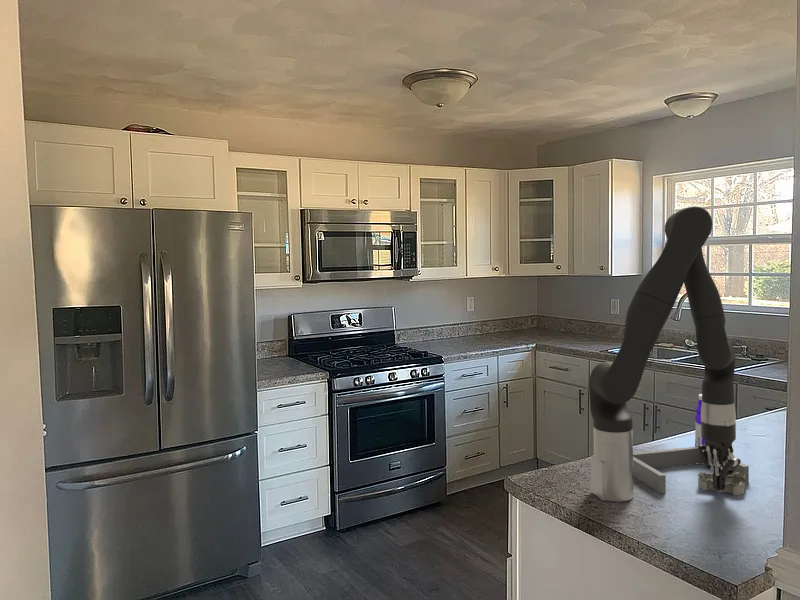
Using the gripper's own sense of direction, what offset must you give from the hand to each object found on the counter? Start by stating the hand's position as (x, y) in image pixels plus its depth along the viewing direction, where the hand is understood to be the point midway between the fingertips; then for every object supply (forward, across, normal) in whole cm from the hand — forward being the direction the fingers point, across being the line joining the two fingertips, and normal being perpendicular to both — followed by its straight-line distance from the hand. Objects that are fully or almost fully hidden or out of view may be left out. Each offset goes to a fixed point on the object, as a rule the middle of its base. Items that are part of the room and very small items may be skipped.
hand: (719, 489), depth 152 cm
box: (+2, -13, 0) cm, 13 cm away
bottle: (+2, -29, +17) cm, 34 cm away
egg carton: (+2, -4, +4) cm, 6 cm away
